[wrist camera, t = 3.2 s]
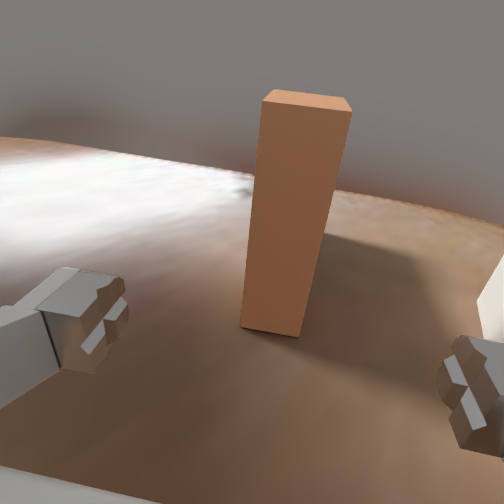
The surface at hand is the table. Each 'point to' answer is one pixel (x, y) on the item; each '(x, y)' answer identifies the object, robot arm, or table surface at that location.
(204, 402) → the table surface
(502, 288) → the tissue box
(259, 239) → the block
